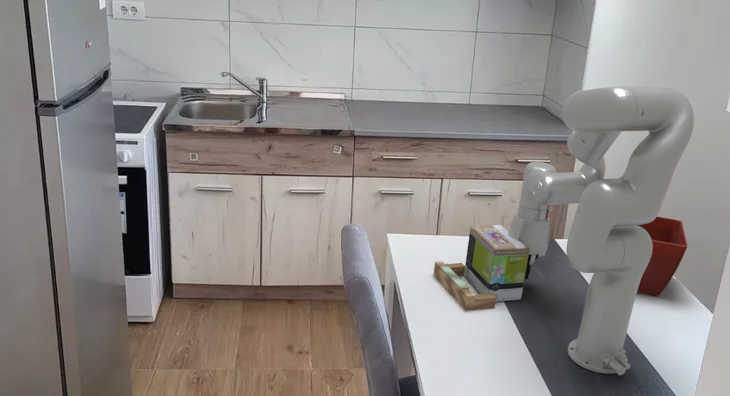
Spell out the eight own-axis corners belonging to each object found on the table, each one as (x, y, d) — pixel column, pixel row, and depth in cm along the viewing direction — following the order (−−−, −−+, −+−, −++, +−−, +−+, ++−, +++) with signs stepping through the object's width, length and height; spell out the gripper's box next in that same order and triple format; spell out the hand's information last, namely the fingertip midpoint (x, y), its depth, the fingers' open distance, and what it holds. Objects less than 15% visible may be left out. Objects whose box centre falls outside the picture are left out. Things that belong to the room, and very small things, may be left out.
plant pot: (595, 289, 186) (608, 231, 180) (597, 261, 203) (609, 207, 197) (672, 305, 181) (688, 246, 175) (667, 275, 198) (682, 220, 192)
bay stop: (494, 307, 172) (497, 292, 170) (465, 311, 169) (467, 295, 168) (460, 272, 188) (462, 258, 187) (433, 275, 186) (435, 260, 184)
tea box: (522, 300, 176) (531, 247, 171) (486, 303, 174) (494, 249, 168) (496, 273, 190) (504, 222, 185) (462, 275, 187) (469, 224, 182)
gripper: (551, 204, 181) (539, 268, 187) (500, 207, 177) (489, 272, 183) (567, 215, 174) (554, 281, 181) (514, 218, 170) (503, 285, 176)
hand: (522, 276), depth 182 cm, fingers closed
